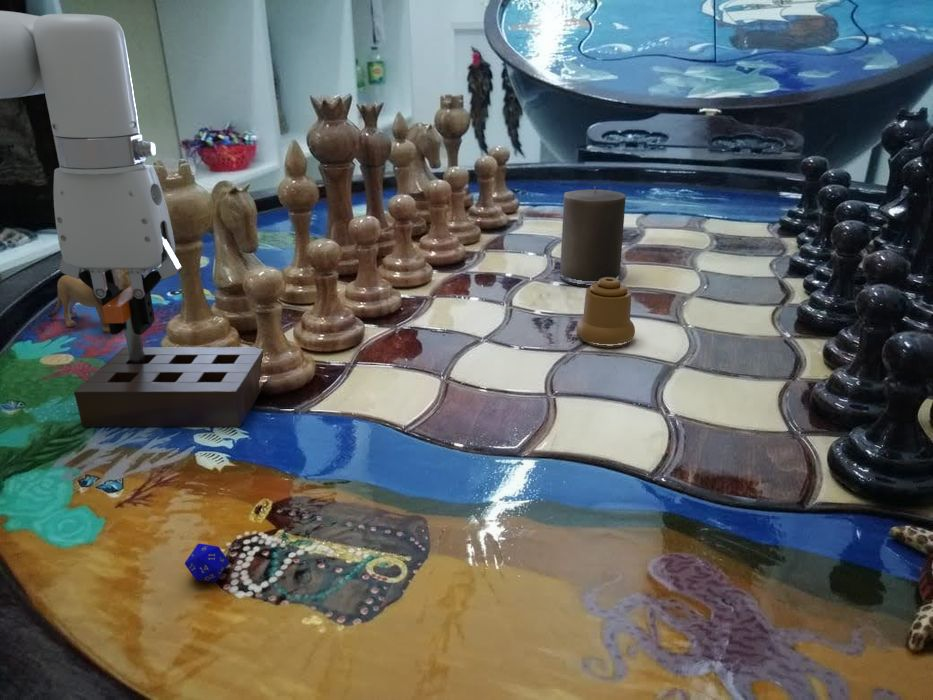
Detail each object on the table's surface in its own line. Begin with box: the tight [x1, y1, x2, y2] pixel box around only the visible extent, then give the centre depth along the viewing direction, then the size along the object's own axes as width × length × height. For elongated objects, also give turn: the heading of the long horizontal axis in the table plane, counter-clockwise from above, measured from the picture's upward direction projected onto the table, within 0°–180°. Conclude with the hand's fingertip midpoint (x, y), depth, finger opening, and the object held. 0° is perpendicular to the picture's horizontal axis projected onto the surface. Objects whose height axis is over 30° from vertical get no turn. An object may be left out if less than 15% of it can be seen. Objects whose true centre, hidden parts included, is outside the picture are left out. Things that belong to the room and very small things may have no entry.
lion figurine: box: [46, 269, 131, 333], centre depth 99 cm, size 15×5×9 cm, turn 79°
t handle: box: [103, 286, 146, 364], centre depth 79 cm, size 2×7×11 cm, turn 0°
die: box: [184, 543, 230, 583], centre depth 53 cm, size 3×3×3 cm
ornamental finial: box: [576, 277, 636, 349], centre depth 94 cm, size 8×8×8 cm
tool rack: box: [74, 346, 266, 428], centre depth 78 cm, size 11×16×4 cm
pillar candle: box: [559, 185, 627, 288], centre depth 117 cm, size 10×10×15 cm
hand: (131, 328), depth 78 cm, fingers closed on t handle, 1 cm apart
